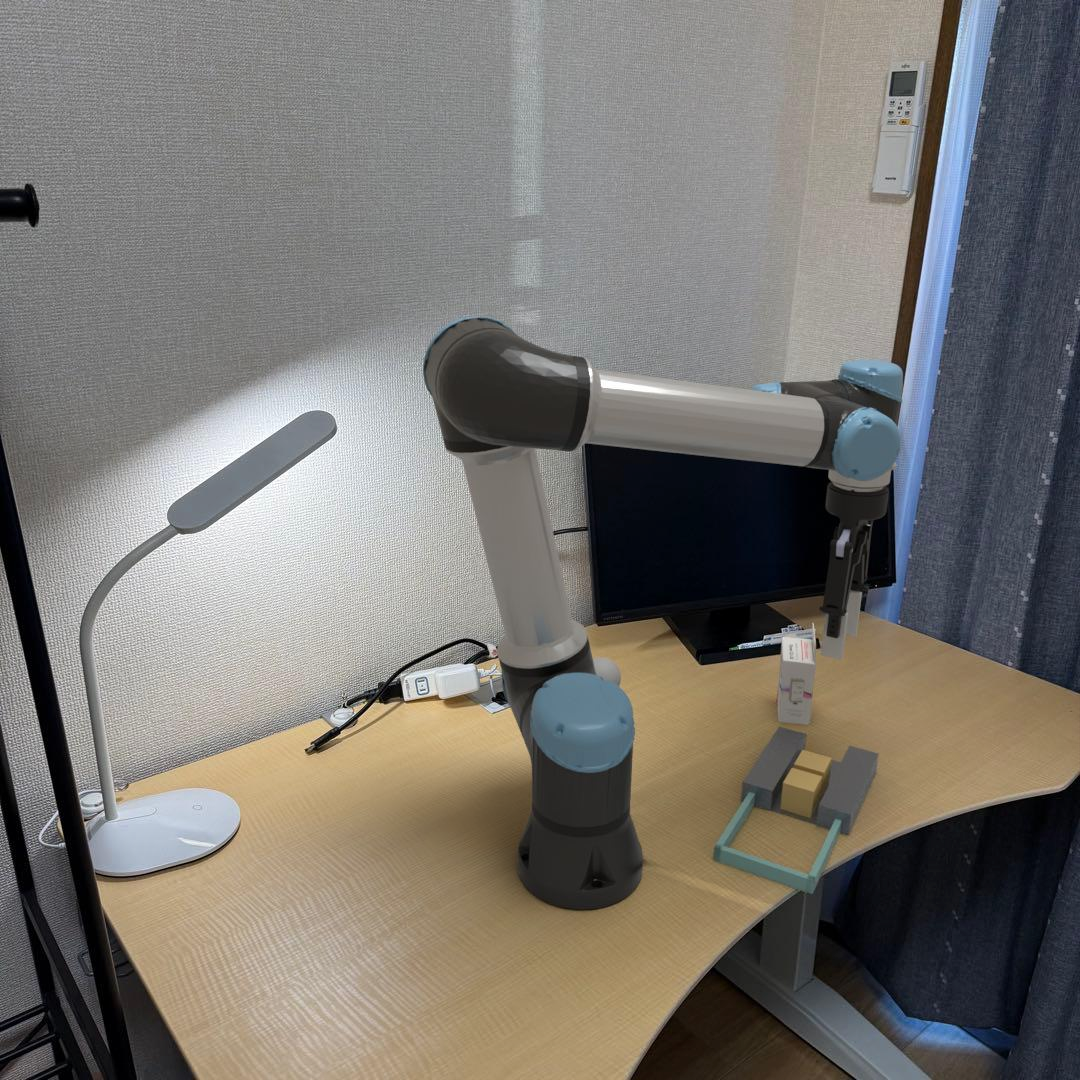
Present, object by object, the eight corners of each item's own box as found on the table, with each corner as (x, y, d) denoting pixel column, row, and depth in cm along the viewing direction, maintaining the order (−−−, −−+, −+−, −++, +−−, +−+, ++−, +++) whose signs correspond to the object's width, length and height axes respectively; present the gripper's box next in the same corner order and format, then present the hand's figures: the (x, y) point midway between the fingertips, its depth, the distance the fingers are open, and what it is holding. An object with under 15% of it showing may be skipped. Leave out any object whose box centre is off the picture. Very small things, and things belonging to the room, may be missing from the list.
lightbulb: (620, 734, 145) (622, 669, 141) (579, 733, 145) (581, 668, 141) (618, 713, 150) (620, 650, 147) (579, 712, 151) (580, 649, 147)
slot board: (847, 842, 121) (851, 814, 119) (740, 808, 127) (742, 781, 126) (875, 779, 134) (878, 753, 132) (776, 751, 140) (779, 726, 139)
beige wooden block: (821, 798, 128) (824, 772, 126) (791, 789, 129) (794, 763, 128) (828, 783, 131) (831, 758, 129) (799, 774, 133) (802, 749, 131)
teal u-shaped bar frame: (811, 902, 111) (813, 881, 110) (712, 867, 116) (714, 847, 115) (839, 840, 121) (841, 820, 120) (747, 811, 127) (749, 791, 126)
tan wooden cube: (810, 818, 123) (813, 792, 122) (780, 808, 125) (783, 782, 124) (819, 802, 127) (822, 776, 125) (789, 793, 129) (792, 767, 127)
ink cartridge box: (774, 701, 154) (782, 618, 149) (806, 704, 153) (815, 620, 148) (776, 728, 146) (784, 642, 141) (809, 732, 145) (819, 645, 140)
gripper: (871, 509, 113) (849, 682, 121) (904, 469, 129) (883, 623, 137) (807, 499, 116) (790, 668, 124) (847, 461, 132) (830, 612, 140)
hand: (839, 644), depth 130 cm, fingers open, 7 cm apart
